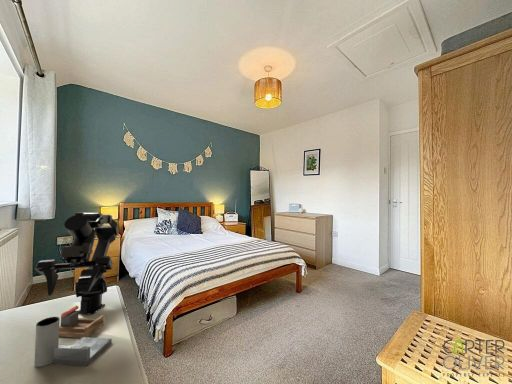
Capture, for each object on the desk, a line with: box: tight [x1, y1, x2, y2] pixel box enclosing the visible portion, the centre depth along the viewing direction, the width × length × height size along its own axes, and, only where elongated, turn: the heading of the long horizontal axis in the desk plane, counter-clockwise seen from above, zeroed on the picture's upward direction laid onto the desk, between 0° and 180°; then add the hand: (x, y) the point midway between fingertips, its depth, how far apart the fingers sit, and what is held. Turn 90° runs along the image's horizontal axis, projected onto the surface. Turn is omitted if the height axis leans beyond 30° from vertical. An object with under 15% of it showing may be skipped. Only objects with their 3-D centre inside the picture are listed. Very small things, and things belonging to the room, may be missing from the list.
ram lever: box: [60, 305, 80, 327], centre depth 71 cm, size 5×3×5 cm, turn 177°
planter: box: [33, 316, 60, 368], centre depth 58 cm, size 4×4×10 cm
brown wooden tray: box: [59, 314, 105, 339], centre depth 71 cm, size 7×12×3 cm, turn 87°
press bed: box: [53, 336, 113, 367], centre depth 61 cm, size 9×9×4 cm
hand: (69, 293), depth 65 cm, fingers open, 9 cm apart
